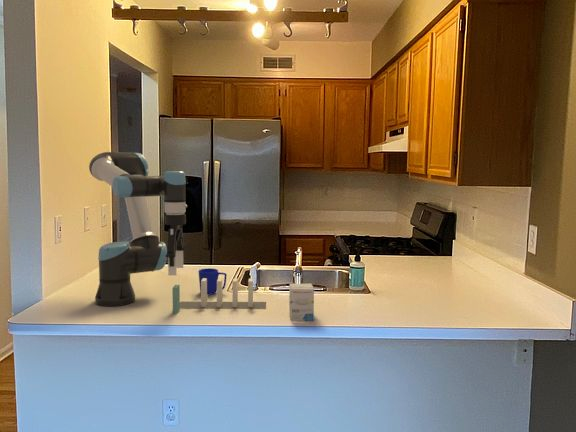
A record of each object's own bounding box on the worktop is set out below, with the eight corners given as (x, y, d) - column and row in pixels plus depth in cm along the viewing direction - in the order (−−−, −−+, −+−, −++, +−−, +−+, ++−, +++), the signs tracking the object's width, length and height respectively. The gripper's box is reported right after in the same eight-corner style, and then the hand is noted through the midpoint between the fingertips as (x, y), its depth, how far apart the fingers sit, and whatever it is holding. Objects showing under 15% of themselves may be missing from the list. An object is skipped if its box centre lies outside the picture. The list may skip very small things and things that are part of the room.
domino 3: (232, 306, 198) (232, 281, 197) (233, 303, 203) (233, 278, 202) (236, 307, 198) (236, 281, 197) (237, 303, 203) (237, 278, 202)
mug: (223, 297, 214) (223, 273, 213) (195, 295, 216) (195, 271, 215) (229, 292, 222) (229, 269, 221) (202, 290, 224) (202, 267, 223)
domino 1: (201, 306, 198) (200, 281, 197) (203, 303, 203) (202, 278, 202) (205, 306, 198) (205, 281, 197) (207, 303, 203) (206, 278, 202)
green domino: (172, 314, 189) (172, 287, 188) (175, 310, 194) (175, 284, 193) (177, 314, 189) (176, 287, 188) (179, 310, 194) (179, 284, 193)
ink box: (311, 313, 192) (312, 283, 190) (313, 320, 183) (314, 288, 182) (288, 313, 191) (289, 283, 190) (289, 320, 183) (290, 288, 182)
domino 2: (216, 306, 198) (216, 281, 197) (218, 303, 203) (218, 278, 202) (221, 306, 198) (220, 281, 197) (222, 303, 203) (222, 278, 202)
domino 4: (248, 307, 198) (248, 281, 197) (248, 303, 203) (248, 278, 202) (252, 307, 198) (252, 281, 197) (252, 303, 203) (253, 278, 202)
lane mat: (175, 309, 195) (175, 308, 195) (180, 302, 205) (180, 301, 205) (265, 309, 196) (265, 308, 196) (266, 302, 206) (266, 301, 206)
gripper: (179, 217, 175) (180, 278, 177) (191, 210, 200) (191, 264, 202) (157, 217, 175) (158, 278, 177) (171, 210, 200) (172, 264, 202)
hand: (176, 271), depth 189 cm, fingers open, 13 cm apart
